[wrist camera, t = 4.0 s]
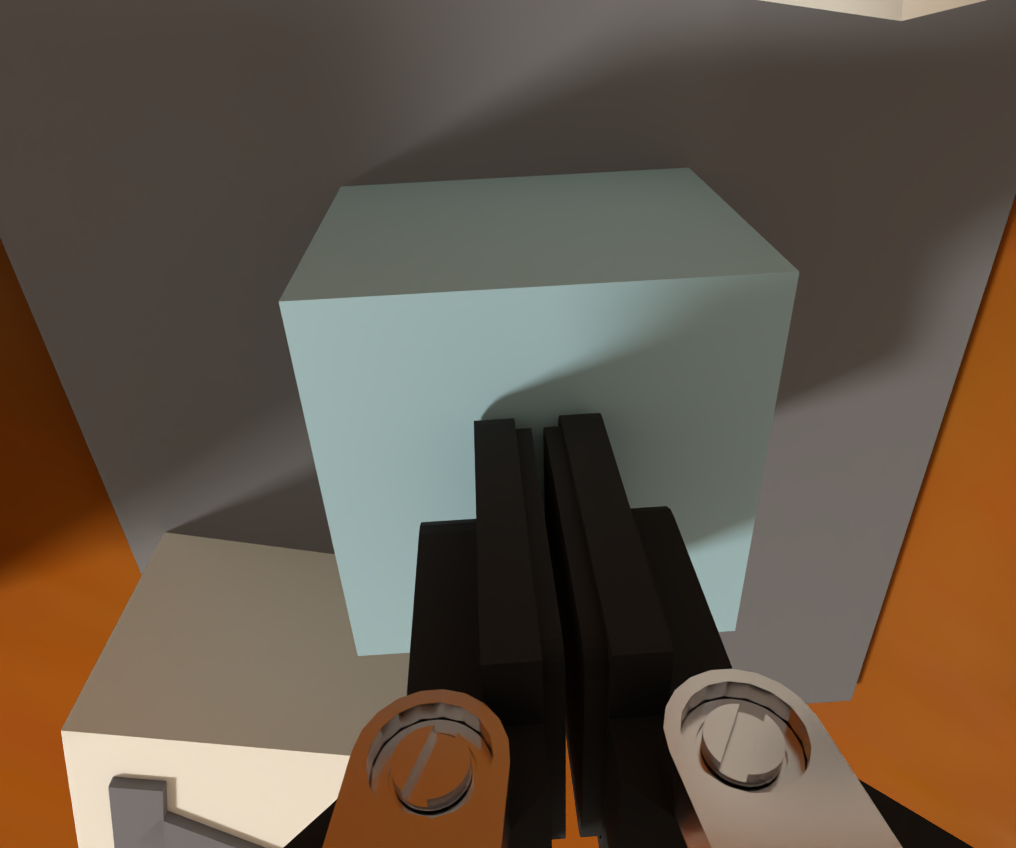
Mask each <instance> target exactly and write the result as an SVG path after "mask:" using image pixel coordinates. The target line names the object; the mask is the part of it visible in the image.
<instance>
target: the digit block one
mask: <svg viewBox="0 0 1016 848" xmlns="http://www.w3.org/2000/svg"><path fill="white" fill-rule="evenodd" d="M761 1H768V2H775V3H781V4H788V5H795V6H802V7H809V8H816V9H822V10H829V11H836V12H843V13H850V14H857V15H863V16H870V17H877V18H884V19H891V20H898V21H904V20H908V19H912V18H916V17H920V16H924V15H928V14H933V13H937V12H941V11H945V10H949V9H953V8H957V7H961V6H965V5H970V4H974V3H978V2H982V1H986V0H761Z"/></svg>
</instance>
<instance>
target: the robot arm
mask: <svg viewBox="0 0 1016 848" xmlns="http://www.w3.org/2000/svg"><path fill="white" fill-rule="evenodd" d="M543 443H544V495H545V516H544V509H543V503H542V496H541V489H540V483H539V476H538V469H537V463H536V456H535V449H534V442H533V436H532V430H531V428H522V429H516V427H515V419H514V418H509V419H493V420H477V421H474V452H475V491H476V519H463V520H448V521H433V522H421V524H420V529H419V539H418V552H417V565H416V578H415V592H414V605H413V618H412V631H411V644H410V657H409V670H408V684H407V696H404V697H402V698H399V699H397V700H395V701H394V702H392V703H391V704H389V705H388V706H386V707H385V708H383V709H382V710H380V711H379V712H377V713H376V715H375V716H374V717H373V718H372V719H371V720H370V721H369V722H368V724H367V725H366V726H365V727H364V728H363V729H362V731H361V733H360V735H359V737H358V739H357V741H356V743H355V745H354V747H353V749H352V751H351V755H350V758H349V761H348V765H347V768H346V771H345V775H344V778H343V781H342V784H341V788H340V791H339V794H338V798H337V800H336V801H334V802H333V803H332V804H331V805H330V806H329V807H328V808H327V809H326V810H324V811H323V812H322V813H321V814H320V815H319V816H318V817H317V818H316V819H314V820H313V821H312V822H311V823H310V824H309V825H308V826H307V827H306V828H305V829H303V830H302V831H301V832H300V833H299V834H298V835H297V836H296V837H295V838H293V839H292V840H291V841H290V842H289V843H288V844H287V845H286V846H285V847H283V848H552V839H564V838H565V836H566V739H567V747H568V754H569V761H570V769H571V776H572V784H573V791H574V799H575V806H576V813H577V821H578V828H579V833H580V837H591V836H597V837H598V843H599V848H973V847H971V846H970V845H968V844H966V843H965V842H963V841H961V840H960V839H958V838H956V837H955V836H953V835H951V834H950V833H948V832H946V831H945V830H943V829H941V828H940V827H938V826H936V825H935V824H933V823H931V822H930V821H928V820H926V819H925V818H923V817H921V816H920V815H918V814H916V813H914V812H913V811H911V810H909V809H908V808H906V807H904V806H903V805H901V804H899V803H898V802H896V801H894V800H893V799H891V798H889V797H888V796H886V795H884V794H883V793H881V792H879V791H878V790H876V789H874V788H873V787H871V786H869V785H868V784H866V783H864V782H863V781H861V780H859V779H858V778H857V777H856V775H855V774H854V772H853V771H852V769H851V768H850V766H849V765H848V763H847V762H846V760H845V759H844V757H843V755H842V754H841V752H840V751H839V749H838V748H837V746H836V745H835V743H834V742H833V740H832V739H831V737H830V736H829V734H828V732H827V731H826V729H825V728H824V726H823V725H822V723H821V722H820V720H819V719H818V717H817V716H816V715H815V714H814V713H813V711H812V710H811V709H810V708H809V707H808V706H807V704H806V703H805V702H804V701H803V700H802V698H800V697H799V696H798V695H796V694H795V693H793V692H792V691H791V690H789V689H788V688H786V687H785V686H784V685H782V684H781V683H779V682H777V681H774V680H772V679H770V678H767V677H765V676H763V675H760V674H758V673H754V672H748V671H743V670H737V669H733V668H732V666H731V663H730V661H729V658H728V655H727V653H726V650H725V648H724V645H723V642H722V640H721V637H720V635H719V632H718V629H717V627H716V624H715V621H714V619H713V616H712V614H711V611H710V608H709V606H708V603H707V601H706V598H705V595H704V593H703V590H702V588H701V585H700V582H699V580H698V577H697V575H696V572H695V569H694V567H693V564H692V562H691V559H690V556H689V554H688V551H687V549H686V546H685V543H684V541H683V538H682V536H681V533H680V530H679V528H678V525H677V523H676V520H675V517H674V515H673V513H672V511H671V509H670V508H668V507H667V506H659V507H644V508H630V505H629V502H628V499H627V495H626V492H625V489H624V486H623V483H622V479H621V476H620V473H619V470H618V466H617V463H616V460H615V457H614V453H613V450H612V447H611V444H610V441H609V437H608V434H607V431H606V428H605V424H604V421H603V418H602V415H601V413H588V414H572V415H559V418H558V426H553V427H544V431H543Z"/></svg>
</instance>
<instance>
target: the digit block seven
mask: <svg viewBox="0 0 1016 848" xmlns="http://www.w3.org/2000/svg"><path fill="white" fill-rule="evenodd" d="M409 657H410V653H396V654H381V655H366V656H358V655H357V650H356V646H355V641H354V637H353V632H352V628H351V623H350V619H349V615H348V610H347V606H346V601H345V597H344V592H343V588H342V583H341V579H340V574H339V570H338V565H337V561H336V556H335V554H328V553H321V552H313V551H305V550H297V549H290V548H282V547H274V546H267V545H259V544H251V543H244V542H236V541H228V540H220V539H213V538H205V537H197V536H190V535H182V534H174V533H167V532H164V534H163V536H162V538H161V540H160V542H159V544H158V546H157V548H156V550H155V552H154V554H153V555H152V557H151V559H150V561H149V563H148V565H147V567H146V569H145V571H144V573H143V575H142V576H141V578H140V580H139V582H138V584H137V586H136V588H135V590H134V592H133V594H132V596H131V597H130V599H129V601H128V603H127V605H126V607H125V609H124V611H123V613H122V615H121V617H120V619H119V620H118V622H117V624H116V626H115V628H114V630H113V632H112V634H111V636H110V638H109V640H108V641H107V643H106V645H105V647H104V649H103V651H102V653H101V655H100V657H99V659H98V661H97V662H96V664H95V666H94V668H93V670H92V672H91V674H90V676H89V678H88V680H87V682H86V684H85V685H84V687H83V689H82V691H81V693H80V695H79V697H78V699H77V701H76V703H75V705H74V706H73V708H72V710H71V712H70V714H69V716H68V718H67V720H66V722H65V724H64V726H63V727H62V729H61V734H62V741H63V748H64V754H65V761H66V767H67V774H68V781H69V787H70V794H71V800H72V807H73V814H74V820H75V827H76V834H77V840H78V847H79V848H283V847H285V846H286V845H287V844H288V843H289V842H290V841H291V840H292V839H293V838H295V837H296V836H297V835H298V834H299V833H300V832H301V831H302V830H303V829H305V828H306V827H307V826H308V825H309V824H310V823H311V822H312V821H313V820H314V819H316V818H317V817H318V816H319V815H320V814H321V813H322V812H323V811H324V810H326V809H327V808H328V807H329V806H330V805H331V804H332V803H333V802H334V801H336V800H337V798H338V794H339V791H340V788H341V784H342V781H343V778H344V775H345V771H346V768H347V765H348V761H349V758H350V755H351V751H352V749H353V747H354V745H355V743H356V741H357V739H358V737H359V735H360V733H361V731H362V729H363V728H364V727H365V726H366V725H367V724H368V722H369V721H370V720H371V719H372V718H373V717H374V716H375V715H376V713H377V712H379V711H380V710H382V709H383V708H385V707H386V706H388V705H389V704H391V703H392V702H394V701H395V700H397V699H399V698H402V697H404V696H407V684H408V670H409Z"/></svg>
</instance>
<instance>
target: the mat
mask: <svg viewBox="0 0 1016 848" xmlns="http://www.w3.org/2000/svg"><path fill="white" fill-rule="evenodd" d="M671 168H690V169H691V170H692V171H693V172H694V173H695V174H696V175H697V176H698V177H699V178H700V179H702V180H703V181H704V182H705V183H706V184H707V185H708V186H709V187H710V188H711V189H712V190H713V191H714V192H715V193H716V194H717V195H719V196H720V197H721V198H722V199H723V200H724V201H725V202H726V203H727V204H728V205H729V206H730V207H731V208H732V209H733V210H734V211H736V212H737V213H738V214H739V215H740V216H741V217H742V218H743V219H744V220H745V221H746V222H747V223H748V224H749V225H750V226H751V227H753V228H754V229H755V230H756V231H757V232H758V233H759V234H760V235H761V236H762V237H763V238H764V239H765V240H766V241H767V242H768V243H770V244H771V245H772V246H773V247H774V248H775V249H776V250H777V251H778V252H779V253H780V254H781V255H782V256H783V257H784V258H785V259H787V260H788V261H789V262H790V263H791V264H792V265H793V266H794V267H795V268H796V269H797V270H798V271H799V277H798V283H797V288H796V294H795V299H794V305H793V311H792V316H791V322H790V327H789V333H788V338H787V344H786V350H785V355H784V361H783V366H782V372H781V377H780V383H779V389H778V394H777V400H776V405H775V411H774V416H773V422H772V428H771V433H770V439H769V444H768V450H767V455H766V461H765V467H764V472H763V478H762V483H761V489H760V495H759V500H758V506H757V511H756V517H755V522H754V528H753V534H752V539H751V545H750V550H749V556H748V561H747V567H746V573H745V578H744V584H743V589H742V595H741V600H740V606H739V612H738V617H737V623H736V628H735V631H725V632H719V635H720V637H721V640H722V642H723V645H724V648H725V650H726V653H727V655H728V658H729V661H730V663H731V666H732V668H733V669H737V670H743V671H748V672H754V673H758V674H760V675H763V676H765V677H767V678H770V679H772V680H774V681H777V682H779V683H781V684H782V685H784V686H785V687H786V688H788V689H789V690H791V691H792V692H793V693H795V694H796V695H798V696H799V697H800V698H802V700H803V701H804V702H805V703H821V702H835V701H850V700H851V699H852V696H853V693H854V690H855V687H856V684H857V681H858V677H859V674H860V671H861V668H862V665H863V662H864V659H865V656H866V653H867V650H868V647H869V644H870V641H871V637H872V634H873V631H874V628H875V625H876V622H877V619H878V616H879V613H880V610H881V607H882V604H883V601H884V597H885V594H886V591H887V588H888V585H889V582H890V579H891V576H892V573H893V570H894V567H895V564H896V561H897V558H898V554H899V551H900V548H901V545H902V542H903V539H904V536H905V533H906V530H907V527H908V524H909V521H910V518H911V514H912V511H913V508H914V505H915V502H916V499H917V496H918V493H919V490H920V487H921V484H922V481H923V478H924V475H925V471H926V468H927V465H928V462H929V459H930V456H931V453H932V450H933V447H934V444H935V441H936V438H937V435H938V431H939V428H940V425H941V422H942V419H943V416H944V413H945V410H946V407H947V404H948V401H949V398H950V395H951V392H952V388H953V385H954V382H955V379H956V376H957V373H958V370H959V367H960V364H961V361H962V358H963V355H964V352H965V348H966V345H967V342H968V339H969V336H970V333H971V330H972V327H973V324H974V321H975V318H976V315H977V312H978V308H979V305H980V302H981V299H982V296H983V293H984V290H985V287H986V284H987V281H988V278H989V275H990V272H991V269H992V265H993V262H994V259H995V256H996V253H997V250H998V247H999V244H1000V241H1001V238H1002V235H1003V232H1004V229H1005V225H1006V222H1007V219H1008V216H1009V213H1010V210H1011V207H1012V204H1013V201H1014V198H1015V195H1016V0H986V1H982V2H978V3H974V4H970V5H965V6H961V7H957V8H953V9H949V10H945V11H941V12H937V13H933V14H928V15H924V16H920V17H916V18H912V19H908V20H904V21H898V20H891V19H884V18H877V17H870V16H863V15H857V14H850V13H843V12H836V11H829V10H822V9H816V8H809V7H802V6H795V5H788V4H781V3H775V2H768V1H761V0H0V238H1V241H2V243H3V246H4V248H5V250H6V253H7V255H8V258H9V260H10V262H11V265H12V267H13V269H14V272H15V274H16V277H17V279H18V281H19V284H20V286H21V288H22V291H23V293H24V296H25V298H26V300H27V303H28V305H29V307H30V310H31V312H32V315H33V317H34V319H35V322H36V324H37V327H38V329H39V331H40V334H41V336H42V338H43V341H44V343H45V346H46V348H47V350H48V353H49V355H50V357H51V360H52V362H53V365H54V367H55V369H56V372H57V374H58V377H59V379H60V381H61V384H62V386H63V388H64V391H65V393H66V396H67V398H68V400H69V403H70V405H71V407H72V410H73V412H74V415H75V417H76V419H77V422H78V424H79V427H80V429H81V431H82V434H83V436H84V438H85V441H86V443H87V446H88V448H89V450H90V453H91V455H92V457H93V460H94V462H95V465H96V467H97V469H98V472H99V474H100V476H101V479H102V481H103V484H104V486H105V488H106V491H107V493H108V496H109V498H110V500H111V503H112V505H113V507H114V510H115V512H116V515H117V517H118V519H119V522H120V524H121V526H122V529H123V531H124V534H125V536H126V538H127V541H128V543H129V546H130V548H131V550H132V553H133V555H134V557H135V560H136V562H137V565H138V567H139V569H140V572H141V574H142V575H143V573H144V571H145V569H146V567H147V565H148V563H149V561H150V559H151V557H152V555H153V554H154V552H155V550H156V548H157V546H158V544H159V542H160V540H161V538H162V536H163V534H164V532H167V533H174V534H182V535H190V536H197V537H205V538H213V539H220V540H228V541H236V542H244V543H251V544H259V545H267V546H274V547H282V548H290V549H297V550H305V551H313V552H321V553H328V554H335V552H334V547H333V543H332V538H331V534H330V530H329V525H328V521H327V516H326V512H325V507H324V503H323V498H322V494H321V489H320V485H319V480H318V476H317V471H316V467H315V462H314V458H313V454H312V449H311V445H310V440H309V436H308V431H307V427H306V422H305V418H304V413H303V409H302V404H301V400H300V395H299V391H298V386H297V382H296V377H295V373H294V369H293V364H292V360H291V355H290V351H289V346H288V342H287V337H286V333H285V328H284V324H283V319H282V315H281V310H280V306H279V300H280V298H281V296H282V294H283V293H284V291H285V289H286V287H287V285H288V283H289V281H290V280H291V278H292V276H293V274H294V272H295V270H296V269H297V267H298V265H299V263H300V261H301V259H302V258H303V256H304V254H305V252H306V250H307V248H308V246H309V245H310V243H311V241H312V239H313V237H314V235H315V234H316V232H317V230H318V228H319V226H320V224H321V222H322V221H323V219H324V217H325V215H326V213H327V211H328V210H329V208H330V206H331V204H332V202H333V200H334V199H335V197H336V195H337V193H338V191H339V189H340V187H342V186H360V185H378V184H397V183H415V182H433V181H451V180H470V179H488V178H506V177H525V176H543V175H561V174H579V173H598V172H616V171H634V170H653V169H671Z"/></svg>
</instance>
